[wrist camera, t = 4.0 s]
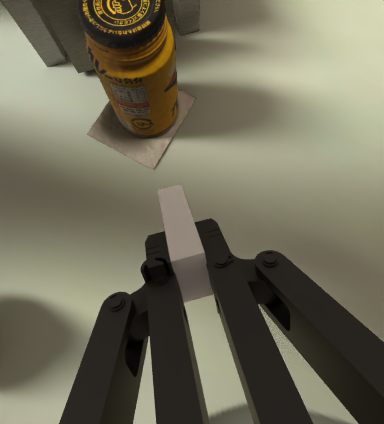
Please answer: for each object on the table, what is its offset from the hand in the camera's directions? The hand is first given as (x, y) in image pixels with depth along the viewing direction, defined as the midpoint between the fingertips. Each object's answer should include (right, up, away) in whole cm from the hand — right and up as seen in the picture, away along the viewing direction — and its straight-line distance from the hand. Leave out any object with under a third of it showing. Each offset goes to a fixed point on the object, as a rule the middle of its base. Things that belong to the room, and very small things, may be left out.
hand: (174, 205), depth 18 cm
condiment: (-4, +9, +10) cm, 14 cm away
